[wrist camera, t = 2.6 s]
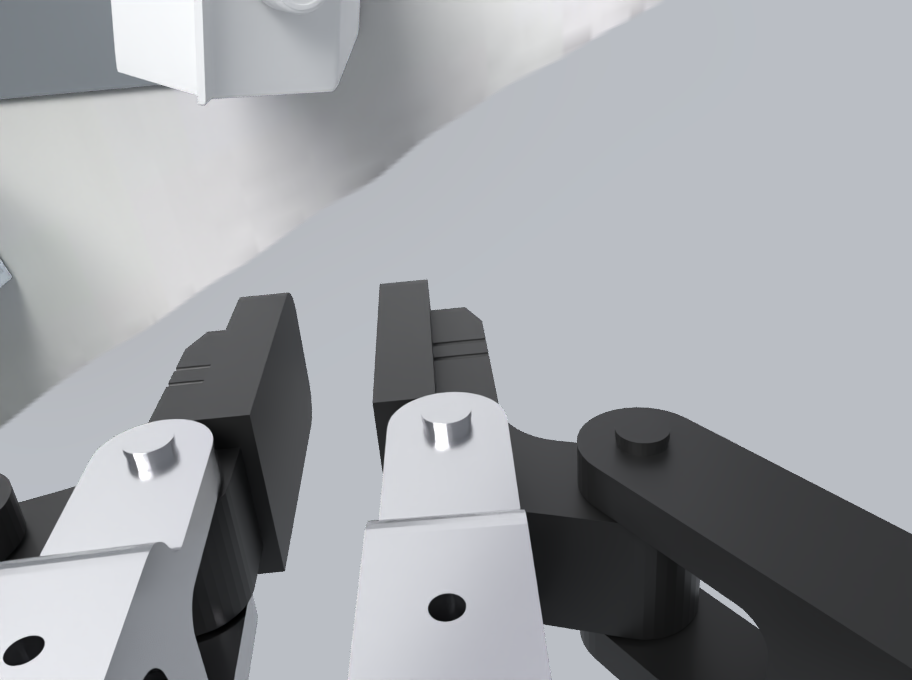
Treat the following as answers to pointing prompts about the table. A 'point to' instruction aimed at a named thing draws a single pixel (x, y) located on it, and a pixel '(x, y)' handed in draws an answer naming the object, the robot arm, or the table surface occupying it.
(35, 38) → the mat
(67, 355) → the table surface
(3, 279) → the tea box
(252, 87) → the milk carton
